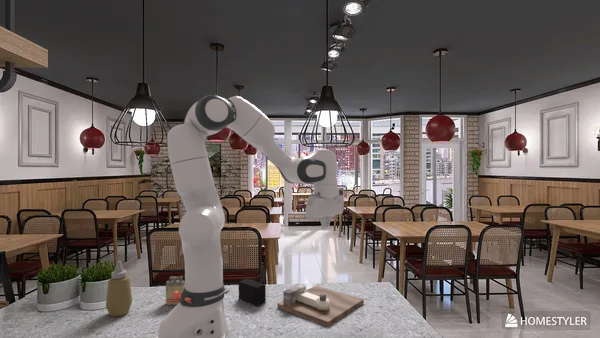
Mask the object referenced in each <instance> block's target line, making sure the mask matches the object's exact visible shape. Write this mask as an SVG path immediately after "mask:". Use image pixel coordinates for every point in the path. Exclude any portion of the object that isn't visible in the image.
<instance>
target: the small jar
mask: <svg viewBox="0 0 600 338" xmlns="http://www.w3.org/2000/svg"><path fill="white" fill-rule="evenodd" d="M183 279H184V276H183V275H180V276H173V275H171V276H169V277H168V280H167V281H165V305H168V306H169V305H172V306H173V305H174V306H177V304H178V303H179V302H180V299H176V298H173V296H172V295H173V293H174V292H175V291H178V292H181V294H182V292H183V290H184V288H185V279H184V280H183Z"/></svg>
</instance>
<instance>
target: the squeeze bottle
mask: <svg viewBox="0 0 600 338" xmlns="http://www.w3.org/2000/svg"><path fill="white" fill-rule="evenodd" d="M127 274H128V273H127V270H126V269H124V268H123V264H122V261H121V260H118V261H116V266H115V269H114V271H112V272H111V276H110V278H109V280H108V283H107V290H106V291H107V292H106V299H105V300H106V301H105V307H106V310H107V312H108V315H109V316H110V317H112V318H114V317H117V318H118V317H122V316H125V315H127V314H128V313H129V311H130V309H131V306H132V303H133V296H132V288H131V280H130V279H131V278H130V277H129V276H127Z"/></svg>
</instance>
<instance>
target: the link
mask: <svg viewBox="0 0 600 338" xmlns="http://www.w3.org/2000/svg"><path fill="white" fill-rule="evenodd" d="M295 300H297V301H300V302H302V303H305V304H308V305H310V306H313V307H315V308H317V309H318V310H323V311H324V310H328V309H329V308H330V300H329V299H327V298H326V300H325V301H321V300H320V297H319V296H316V295H314V294H311V293H308V292H305V290H304V291H302V292H300V293H298V294H296V295H295Z"/></svg>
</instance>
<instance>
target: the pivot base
mask: <svg viewBox="0 0 600 338" xmlns="http://www.w3.org/2000/svg"><path fill="white" fill-rule="evenodd" d="M302 291H305V292H308V293H311V294H314V295H316V296H319V297H320V300H321V301H325V300H326V298H327V299H329V300H330V308H329V309H328V310H324V311H323V310H318V309H317V308H315V307H313V306H310V305H308V304H305V303H302V302H300V301H297V300H295V295H296V294H298V293H300V292H302ZM282 293H283V294H282V295H283V300H282V301H280V302H278V303H277V305H276V307H277V309H280V310H283V311H286V312H288V313H291V314H293V315H295V316H298V317H301V318H304V319H306V320H309V321H312V322H315V323H317V324H320V325H323V326H325V327H330V326H331V325H333V324H334V323H335V322H337V321H339V320H340V319H342V318H344V317H345V316H347V315H348V314H349V313H351V312H353V311H355V309H357V308H359V307H360V306H363V304H364V303H365V300H364V298H360V297H356V296H354V295H351V294H347V293H343V292H340V291H336V290H333V289H328V288H326V287H323V286H322V287H321V286H320V285H319V286H318V285H313V286H312V287H311V288H308V289H307V286H306V285H303V284H300V283H299V284H297V285H294V286H293V287H290V288H288V289H285V290H284V291H283V292H282ZM343 316H344V317H343Z"/></svg>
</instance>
